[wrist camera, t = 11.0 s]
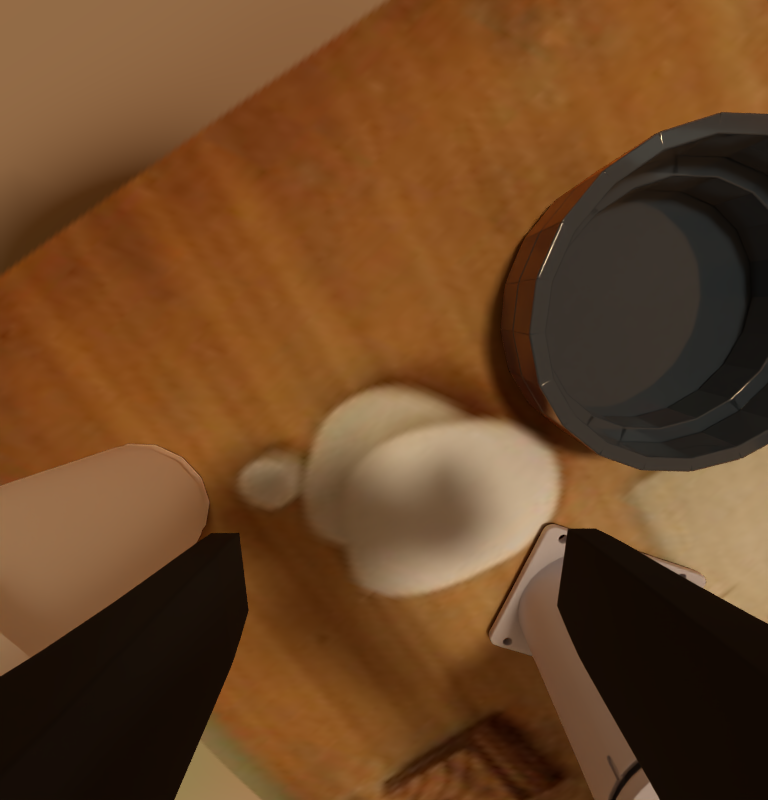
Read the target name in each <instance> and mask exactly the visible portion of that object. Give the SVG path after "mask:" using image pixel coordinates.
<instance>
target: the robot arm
mask: <svg viewBox="0 0 768 800" xmlns="http://www.w3.org/2000/svg"><path fill="white" fill-rule="evenodd" d="M561 535H565V536H564V537H563V538H561V539H559V537H560V536H561ZM705 584H706V579H705V577H704V576H703V575H702V574H701V573H699V572H697V571H695V570H692V569H689V568H686V567H683V566H680V565H677V564H674V563H671V562H668V561H665V560H662V559H659V558H656V557H653V556H650V555H647V554H644V553H641V552H639V551H637V550H635V549H633V548H632V547H630V546H628V545H626V544H624V543H623V542H621V541H619V540H617V539H615V538H613V537H612V536H610V535H608V534H606V533H604V532H602V531H599V530H597V529H568V528H565V527H562V526H559V525H556V524H550V525H547V526H546V527H545V528H544V529H543V531H542V533H541V535H540V537H539V539H538V540H537V542H536V544H535V546H534V548H533V550H532V552H531V554H530V556H529V558H528V559H527V561H526V563H525V565H524V567H523V569H522V571H521V573H520V575H519V577H518V578H517V580H516V582H515V584H514V586H513V588H512V590H511V592H510V594H509V596H508V597H507V599H506V601H505V603H504V605H503V607H502V609H501V611H500V613H499V615H498V616H497V618H496V620H495V622H494V624H493V626H492V628H491V630H490V632H489V637H490V640H491V642H492V644H494V645H496V646H500V647H503V648H506V649H510V650H513V651H517V652H520V653H523V654H527V655H530V656H533V658H534V660H535V662H536V665H537V667H538V669H539V672H540V674H541V676H542V679H543V681H544V683H545V686H546V688H547V690H548V693H549V695H550V697H551V700H552V702H553V704H554V707H555V709H556V711H557V714H558V716H559V718H560V721H561V723H562V725H563V728H564V730H565V732H566V735H567V737H568V739H569V742H570V744H571V746H572V749H573V751H574V754H575V756H576V758H577V761H578V763H579V765H580V768H581V770H582V772H583V775H584V777H585V779H586V782H587V784H588V786H589V789H590V791H591V793H592V796H593V798H594V800H768V624H767V623H765V622H763V621H762V620H760V619H758V618H756V617H754V616H752V615H750V614H748V613H747V612H745V611H743V610H741V609H739V608H737V607H736V606H734V605H732V604H730V603H728V602H727V601H725V600H723V599H721V598H719V597H718V596H716V595H714V594H712V593H710V592H709V591H707V590H705V589H703V587H704V586H705ZM248 611H249V610H248V602H247V594H246V585H245V577H244V569H243V561H242V552H241V544H240V536H239V533H211V534H209V535H208V536H206V537H205V538H203V539H202V540H200V541H199V542H197V543H196V544H194V545H193V546H191V547H190V548H189V549H187V550H186V551H184V552H183V553H182V554H180V555H179V556H177V557H176V558H175V559H173V560H172V561H171V562H169V563H168V564H166V565H165V566H164V567H162V568H161V569H160V570H158V571H157V572H155V573H154V574H153V575H151V576H150V577H148V578H147V579H146V580H144V581H143V582H141V583H140V584H139V585H137V586H136V587H134V588H133V589H132V590H130V591H129V592H127V593H126V594H125V595H123V596H122V597H120V598H119V599H118V600H116V601H115V602H113V603H112V604H110V605H109V606H107V607H106V608H104V609H103V610H101V611H100V612H98V613H97V614H95V615H94V616H92V617H91V618H89V619H88V620H86V621H85V622H83V623H82V624H81V625H79V626H78V627H76V628H75V629H73V630H72V631H70V632H69V633H67V634H66V635H64V636H63V637H61V638H60V639H58V640H57V641H55V642H54V643H52V644H51V645H49V646H48V647H46V648H45V649H43V650H42V651H40V652H38V653H37V654H35V655H34V656H32V657H31V658H29V659H27V660H26V661H24V662H23V663H21V664H20V665H18V666H16V667H15V668H13V669H11V670H10V671H8V672H7V673H5V674H3V675H2V676H0V800H174V799H175V797H176V794H177V792H178V789H179V787H180V785H181V783H182V780H183V778H184V776H185V773H186V771H187V769H188V766H189V764H190V762H191V759H192V757H193V755H194V752H195V750H196V748H197V745H198V743H199V741H200V738H201V736H202V734H203V731H204V729H205V727H206V725H207V722H208V720H209V718H210V715H211V713H212V711H213V708H214V706H215V703H216V701H217V699H218V696H219V694H220V692H221V689H222V687H223V685H224V682H225V680H226V677H227V675H228V673H229V670H230V668H231V665H232V663H233V660H234V657H235V654H236V651H237V647H238V644H239V641H240V638H241V635H242V631H243V628H244V624H245V621H246V617H247V614H248ZM505 638H508V639H505Z"/></svg>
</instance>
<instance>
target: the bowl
mask: <svg viewBox="0 0 768 800" xmlns="http://www.w3.org/2000/svg"><path fill="white" fill-rule="evenodd" d="M500 328H501V336H502V341H503V345H504V350H505V355H506V360H507V364H508V369H509V372H510V373H511V375H512V377H513V378H514V380H515V382H516V383H517V385H518V387H519V388H520V390H521V392H522V393H523V395H524V397H525V398H526V400H527V402H528V403H529V404H530V405H531V406H532V407H533V408H535V409H536V410H537V411H538V412H540V413H541V414H542V415H543V416H544V417H546V418H547V419H548V420H549V421H551V422H552V423H553V424H554V425H556V426H557V427H558V428H560V429H561V430H563V431H564V432H566V433H567V434H568V435H570V436H571V437H573V438H574V439H576V440H577V441H579V442H580V443H582V444H583V445H584V446H586V447H587V448H589V449H590V450H592V451H593V452H595V453H596V454H598V455H599V456H602V457H605V458H608V459H611V460H614V461H616V462H619V463H622V464H625V465H628V466H631V467H633V468H636V469H639V470H651V471H686V472H689V471H695V470H699V469H703V468H707V467H711V466H715V465H719V464H723V463H727V462H731V461H735V460H739V459H740V458H744V457H746V456H747V455H749V454H751V453H753V452H755V451H756V450H758V449H760V448H762V447H764V446H766V445H767V444H768V114H756V113H728V112H721V113H717V114H714V115H711V116H707V117H704V118H701V119H698V120H695V121H692V122H688V123H685V124H682V125H679V126H676V127H673V128H670V129H666V130H663V131H660V132H658V133H656V134H654V135H653V136H651V137H650V138H648V139H646V140H645V141H643V142H642V143H640V144H639V145H637V146H636V147H634V148H632V149H631V150H629V151H628V152H626V153H625V154H623V155H621V156H620V157H618V158H617V159H615V160H614V161H612V162H610V163H609V164H607V165H606V166H604V167H603V168H601V169H600V170H598V171H596V172H595V173H594V174H592V175H591V176H589V177H588V178H586V179H585V180H584V181H582V182H581V183H579V184H578V185H576V186H575V187H573V188H572V189H571V190H569V191H568V192H566V193H565V194H563V195H562V196H561V197H559V198H558V199H556V201H554V202H553V204H552V205H551V206H550V207H549V209H548V210H547V211H546V212H545V214H544V215H543V216H542V217H541V219H540V220H539V221H538V222H537V224H536V225H535V226H534V227H533V229H532V230H531V231H530V232H529V233H528V235H527V236H526V237H525V238H524V241H523V242H522V245H521V247H520V250H519V252H518V254H517V257H516V259H515V261H514V264H513V266H512V269H511V271H510V273H509V276H508V278H507V280H506V285H505V289H504V298H503V308H502V317H501V327H500Z"/></svg>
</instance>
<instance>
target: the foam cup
mask: <svg viewBox="0 0 768 800" xmlns="http://www.w3.org/2000/svg"><path fill="white" fill-rule="evenodd" d="M209 504H210V502H209V499H208V496H207V493H206V490H205V487H204V484H203V481H202V478H201V477H200V476H199V475H198V474H197V473H196V471H195V470H194V469H193V468H192V467H191V466H190V465H189V464H188V463H187V462H186V461H185V460H184V458H183V457H181V456H178V455H176V454H174V453H172V452H170V451H168V450H166V449H163V448H161V447H159V446H157V445H144V444H126V445H124V446H122V447H116V448H113V449H110V450H107V451H104V452H101V453H98V454H95V455H92V456H89V457H86V458H83V459H80V460H77V461H74V462H71V463H67V464H64V465H61V466H58V467H55V468H52V469H49V470H46V471H43V472H40V473H37V474H34V475H31V476H28V477H25V478H22V479H19V480H16V481H13V482H10V483H7V484H4V485H1V486H0V676H2V675H3V674H5V673H7V672H8V671H10V670H11V669H13V668H15V667H16V666H18V665H20V664H21V663H23V662H24V661H26V660H27V659H29V658H31V657H32V656H34V655H35V654H37V653H38V652H40V651H42V650H43V649H45V648H46V647H48V646H49V645H51V644H52V643H54V642H55V641H57V640H58V639H60V638H61V637H63V636H64V635H66V634H67V633H69V632H70V631H72V630H73V629H75V628H76V627H78V626H79V625H81V624H82V623H83V622H85V621H86V620H88V619H89V618H91V617H92V616H94V615H95V614H97V613H98V612H100V611H101V610H103V609H104V608H106V607H107V606H109V605H110V604H112V603H113V602H115V601H116V600H118V599H119V598H120V597H122V596H123V595H125V594H126V593H127V592H129V591H130V590H132V589H133V588H134V587H136V586H137V585H139V584H140V583H141V582H143V581H144V580H146V579H147V578H148V577H150V576H151V575H153V574H154V573H155V572H157V571H158V570H160V569H161V568H162V567H164V566H165V565H166V564H168V563H169V562H171V561H172V560H173V559H175V558H176V557H177V556H179V555H180V554H182V553H183V552H184V551H186V550H187V549H189V548H190V547H191V546H193V545H194V544H196V543H197V541H198V539H199V537H200V535H201V534H202V529H203V528H204V527H205V526H206V521H207V515H208V509H209Z"/></svg>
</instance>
